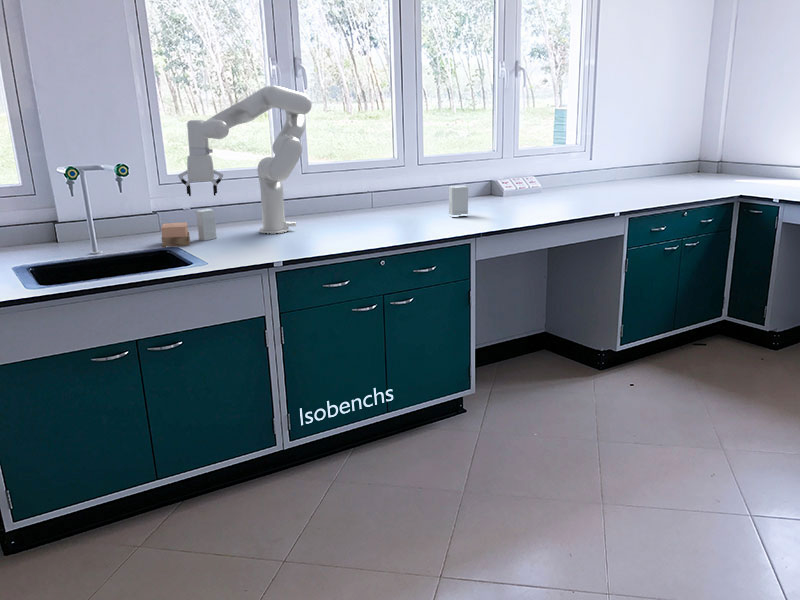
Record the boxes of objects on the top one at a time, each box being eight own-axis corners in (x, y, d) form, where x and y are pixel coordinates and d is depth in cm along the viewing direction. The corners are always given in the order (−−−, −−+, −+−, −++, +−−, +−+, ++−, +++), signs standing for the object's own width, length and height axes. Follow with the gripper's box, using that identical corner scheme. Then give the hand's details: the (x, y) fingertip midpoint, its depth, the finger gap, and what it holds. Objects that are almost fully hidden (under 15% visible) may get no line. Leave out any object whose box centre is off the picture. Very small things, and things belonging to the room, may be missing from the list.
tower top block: (188, 232, 266) (187, 222, 264) (186, 236, 257) (185, 226, 256) (164, 233, 264) (163, 223, 263) (162, 237, 255) (161, 227, 254)
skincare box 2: (464, 215, 321) (465, 184, 316) (468, 217, 315) (469, 186, 311) (447, 216, 319) (448, 185, 314) (451, 218, 313) (452, 187, 309)
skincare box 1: (210, 237, 274) (208, 208, 270) (216, 238, 271) (214, 209, 268) (198, 239, 269) (195, 210, 266) (204, 240, 267) (201, 211, 263)
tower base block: (190, 241, 268) (189, 231, 266) (189, 246, 258) (188, 236, 257) (164, 242, 265) (163, 233, 264) (162, 248, 256) (161, 238, 255)
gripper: (221, 151, 265) (224, 193, 270) (176, 151, 261) (180, 194, 266) (221, 152, 259) (224, 196, 263) (175, 153, 254) (179, 197, 259)
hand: (202, 195), depth 265 cm, fingers open, 9 cm apart
